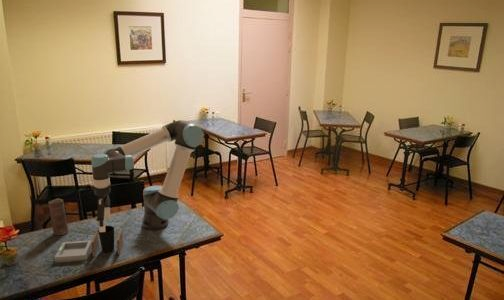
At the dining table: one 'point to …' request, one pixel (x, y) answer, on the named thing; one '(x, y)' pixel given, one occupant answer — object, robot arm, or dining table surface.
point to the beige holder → (96, 243)
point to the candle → (58, 216)
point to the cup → (107, 239)
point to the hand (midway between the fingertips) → (105, 225)
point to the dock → (73, 251)
